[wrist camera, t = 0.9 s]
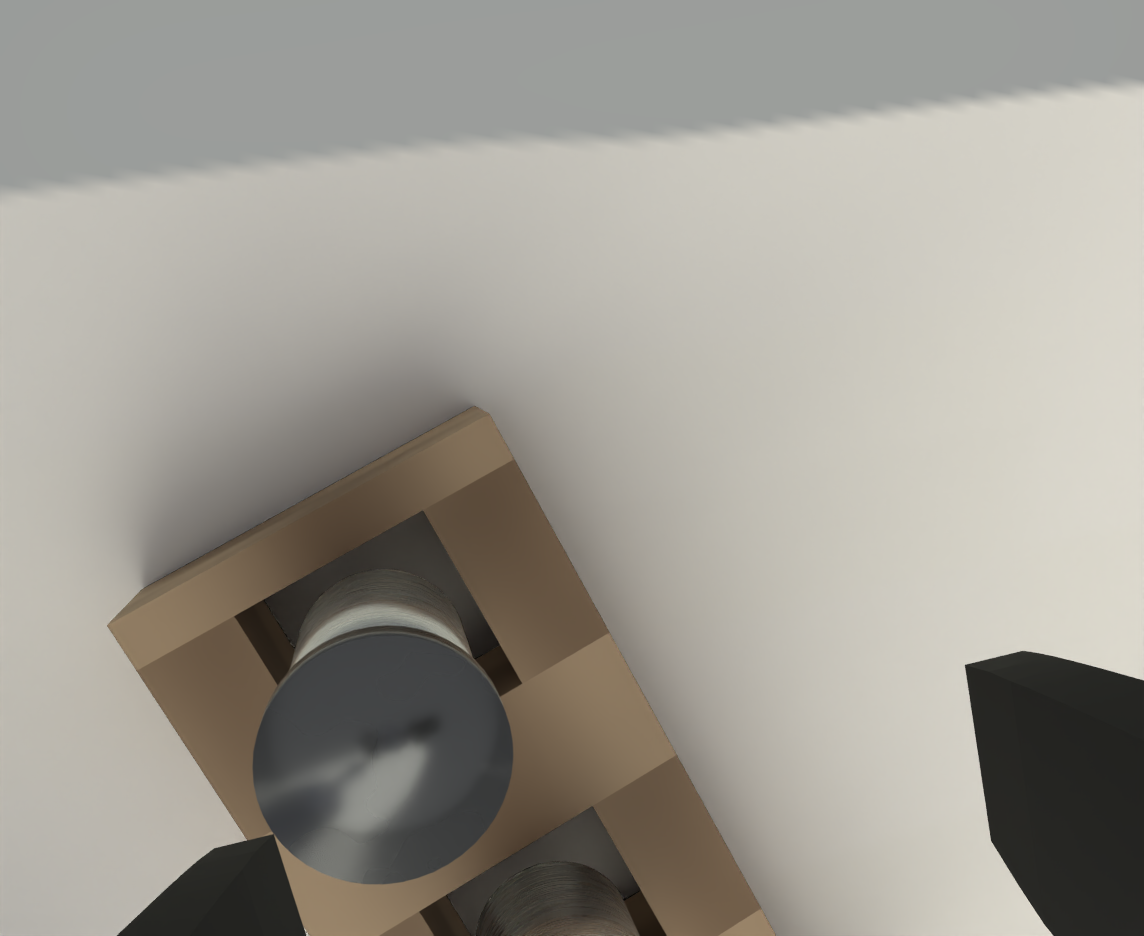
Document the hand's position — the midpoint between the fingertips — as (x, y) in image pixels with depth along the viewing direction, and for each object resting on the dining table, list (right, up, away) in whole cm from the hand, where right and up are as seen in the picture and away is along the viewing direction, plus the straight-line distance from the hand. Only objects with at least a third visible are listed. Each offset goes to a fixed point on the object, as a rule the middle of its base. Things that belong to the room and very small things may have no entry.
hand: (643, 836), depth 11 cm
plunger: (-4, 0, +10) cm, 11 cm away
